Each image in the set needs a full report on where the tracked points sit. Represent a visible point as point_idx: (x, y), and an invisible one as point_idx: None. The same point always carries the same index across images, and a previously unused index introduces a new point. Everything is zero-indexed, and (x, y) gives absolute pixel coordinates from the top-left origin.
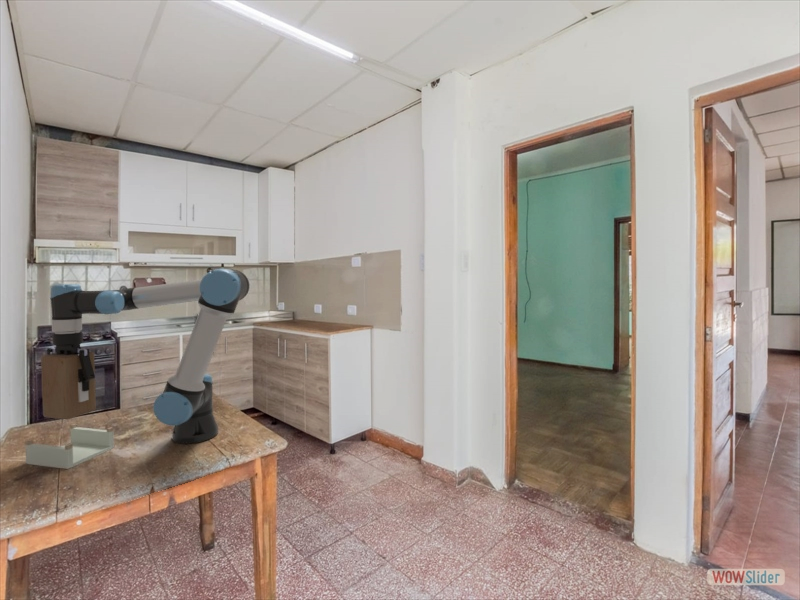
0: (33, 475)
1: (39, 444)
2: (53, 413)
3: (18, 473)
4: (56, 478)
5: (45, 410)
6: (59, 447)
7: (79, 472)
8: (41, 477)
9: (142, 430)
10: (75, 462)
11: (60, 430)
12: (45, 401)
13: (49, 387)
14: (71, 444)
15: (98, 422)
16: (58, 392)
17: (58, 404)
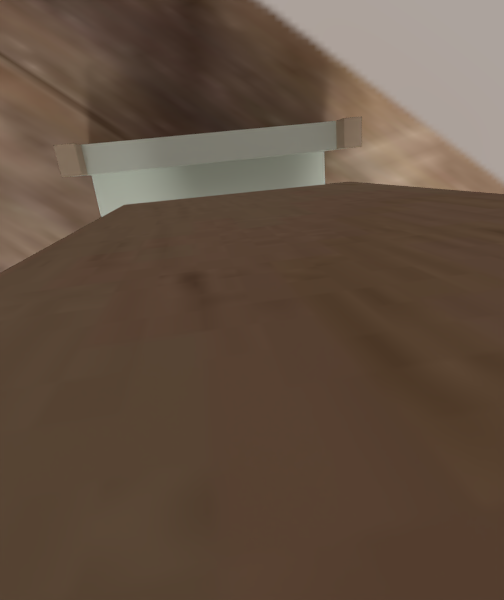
0: (167, 54)
1: (290, 149)
2: (250, 193)
3: (252, 49)
4: (31, 63)
5: (350, 185)
6: (144, 156)
7: (2, 143)
8: (109, 50)
9: None
10: (94, 187)
11: None
12: (391, 190)
13: (443, 225)
14: (60, 171)
15: None
16: (176, 237)
17: (185, 208)
